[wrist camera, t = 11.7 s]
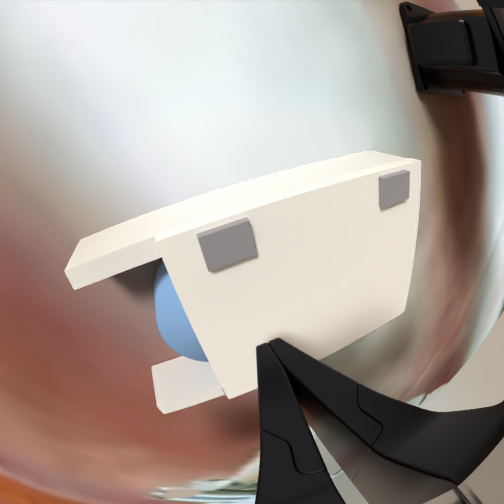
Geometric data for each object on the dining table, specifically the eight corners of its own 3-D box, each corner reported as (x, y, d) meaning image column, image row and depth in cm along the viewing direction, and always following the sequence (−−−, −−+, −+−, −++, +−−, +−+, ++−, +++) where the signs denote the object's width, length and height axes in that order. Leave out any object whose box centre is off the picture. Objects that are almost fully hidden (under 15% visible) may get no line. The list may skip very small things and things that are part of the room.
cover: (411, 157, 11) (426, 162, 10) (398, 306, 15) (407, 314, 15) (154, 234, 8) (156, 245, 8) (225, 390, 13) (230, 403, 12)
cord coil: (258, 212, 13) (282, 231, 11) (275, 309, 16) (296, 337, 14) (135, 252, 12) (133, 281, 10) (176, 345, 15) (185, 379, 13)
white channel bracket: (369, 150, 14) (416, 160, 11) (372, 284, 18) (405, 311, 15) (80, 239, 11) (61, 276, 8) (157, 374, 15) (165, 420, 12)
